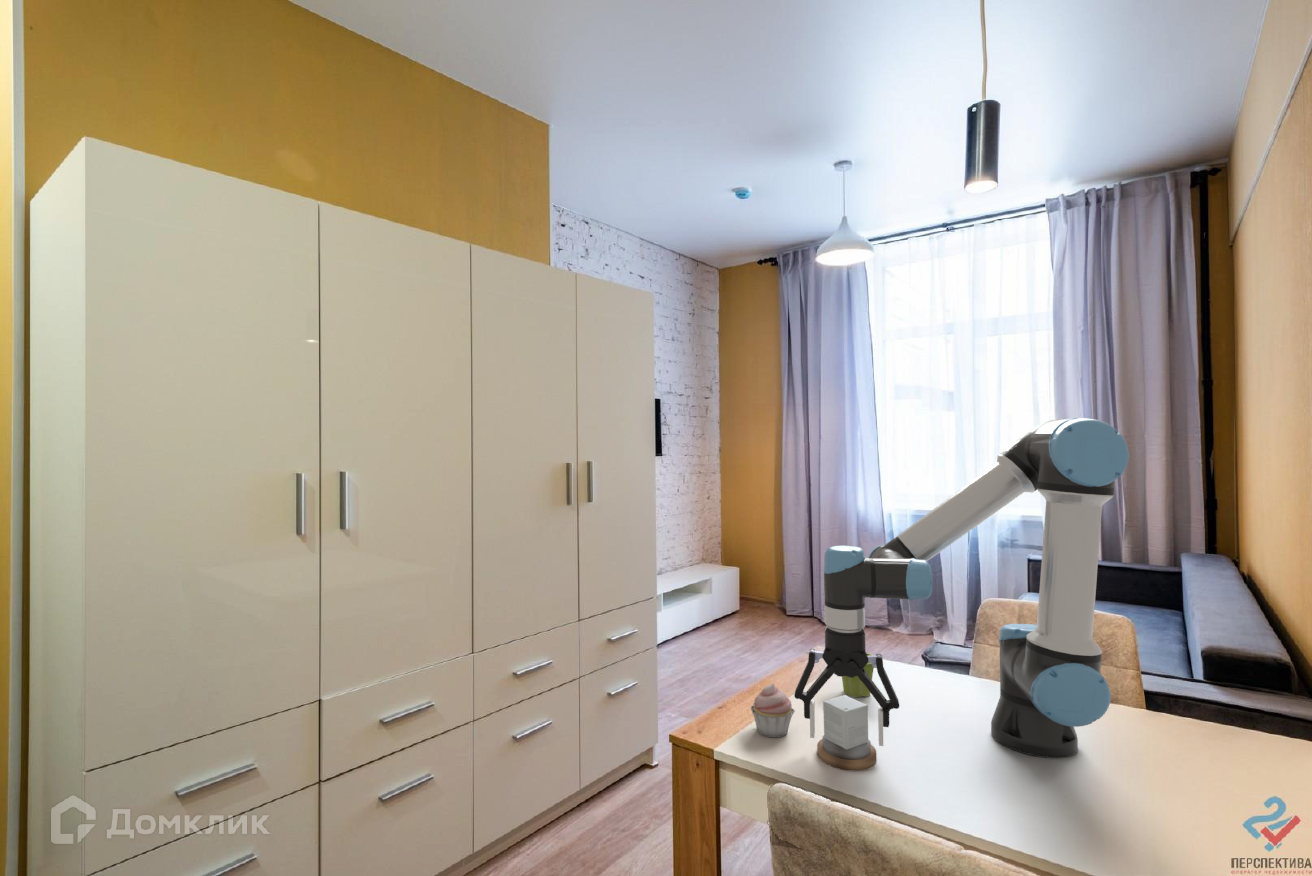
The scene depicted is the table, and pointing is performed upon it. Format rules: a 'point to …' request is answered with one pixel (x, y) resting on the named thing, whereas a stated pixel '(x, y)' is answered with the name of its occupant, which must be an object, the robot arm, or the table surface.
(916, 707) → the table surface
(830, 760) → the pedestal
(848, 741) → the product box
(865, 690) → the plant pot
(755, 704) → the cupcake
